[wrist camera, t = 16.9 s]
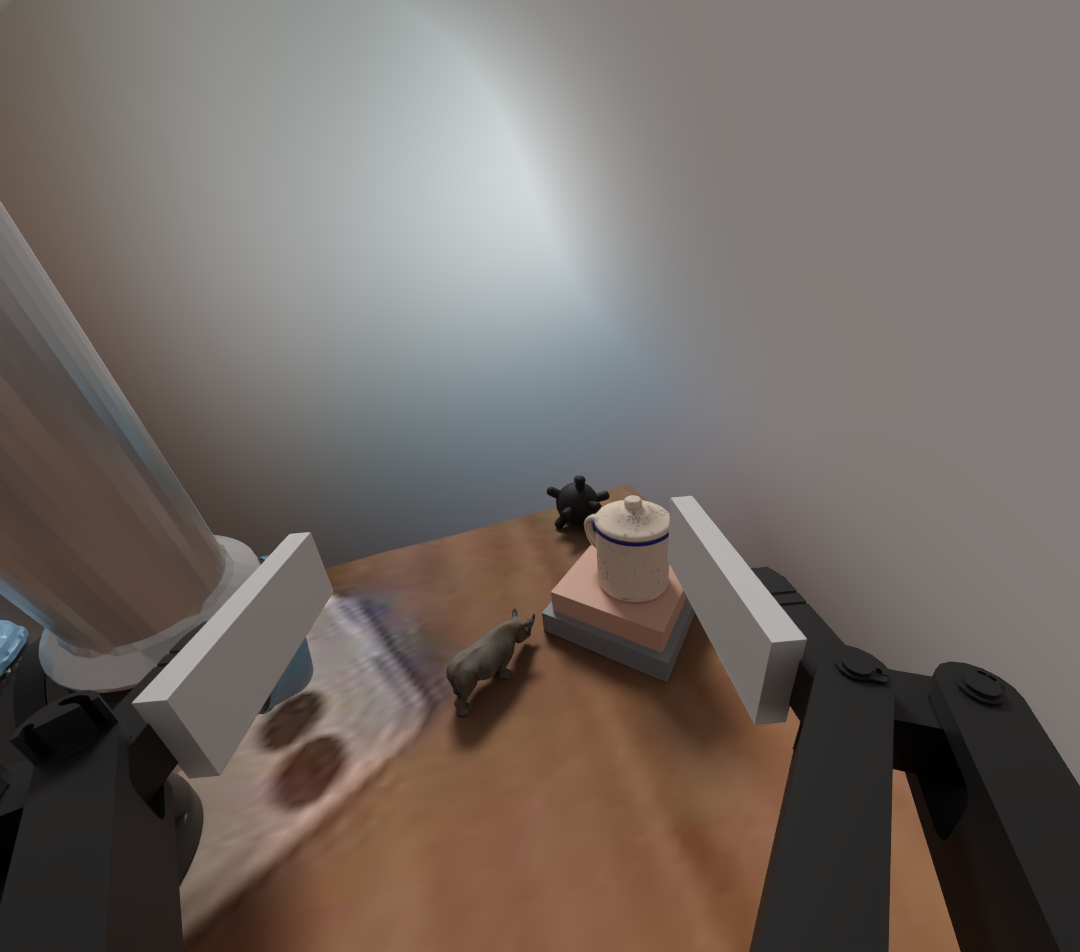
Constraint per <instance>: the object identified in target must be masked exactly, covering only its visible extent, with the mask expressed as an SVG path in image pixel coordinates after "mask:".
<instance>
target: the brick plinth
mask: <svg viewBox="0 0 1080 952" xmlns="http://www.w3.org/2000/svg"><path fill="white" fill-rule="evenodd" d="M551 596H552V601H551V603H550V604H549V605H548V606H547V607H546V609H545V610H544V611H543V612H542V617H543V626H544V631H547V632H549V633H551V634H554V635H556V636H558V637H561V638H563V639H565V640H568V641H570V642H572V643H575V644H577V645H579V646H582V647H584V648H586V649H589V650H591V651H593V652H596V653H598V654H600V655H603V656H605V657H607V658H610V659H612V660H614V661H617V662H619V663H621V664H624V665H626V666H628V667H631V668H633V669H635V670H638V671H640V672H643V673H645V674H647V675H650V676H652V677H654V678H657V679H659V680H661V681H664V682H666V683H668V680H669V678H670V675H671V673H672V670H673V668H674V665H675V663H676V660H677V658H678V655H679V653H680V650H681V648H682V645H683V643H684V640H685V638H686V635H687V632H688V630H689V627H690V625H691V622H692V620H693V617H694V615H695V611H694V609H693V607H692V606H691V604H690V602H689V600H688V598H687V596H686V594H685V592H684V590H683V588H682V587H681V585H680V583H679V581H678V579H677V577H676V575H675V573H674V571H673V570H672V568H671V566H670V564H669V576H668V585H667V588H666V590H665V591H664V592H663V593H662V594H661V595H660V596H659V597H657V598H655V599H653V600H650V601H646V602H639V603H633V602H625V601H621V600H618V599H616V598H614V597H612V596H610V595H608V594H607V593H606V592H605V591H604V590H603V589H602V588H601V586H600V584H599V582H598V577H597V549H596V548H595V547H594V546H593V545H592V544H591V546H590V547H589V548H588V549H587V550H586V551H585V553H584V554H583V555H582V556H581V557H580V559H579V560H578V561H577V562H576V563H575V564H574V566H573V567H572V568H571V569H570V570H569V571H568V573H567V574H566V575H565V576H564V577H563V578H562V580H561V581H560V582H559V583H558V584H557V586H556V587H555V588H554V589H553V590H552V591H551Z"/></svg>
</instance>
